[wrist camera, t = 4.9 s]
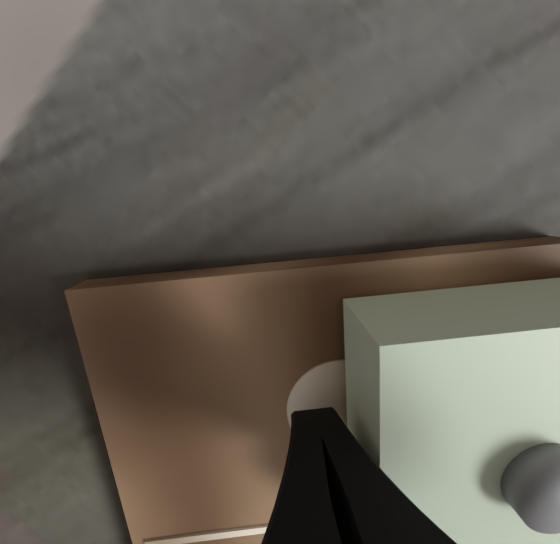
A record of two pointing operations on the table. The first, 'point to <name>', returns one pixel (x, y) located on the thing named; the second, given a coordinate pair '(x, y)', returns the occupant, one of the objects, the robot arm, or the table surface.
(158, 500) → the board
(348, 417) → the cover
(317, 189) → the table surface
